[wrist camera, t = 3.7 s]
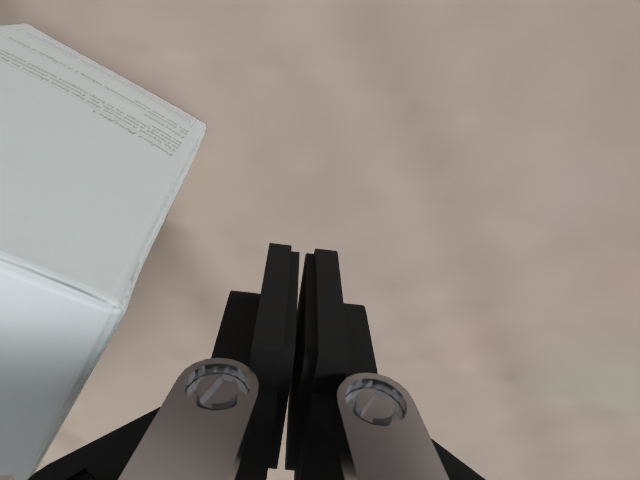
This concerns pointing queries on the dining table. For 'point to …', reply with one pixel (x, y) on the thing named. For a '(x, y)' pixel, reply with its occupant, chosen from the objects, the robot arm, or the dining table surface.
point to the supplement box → (72, 223)
